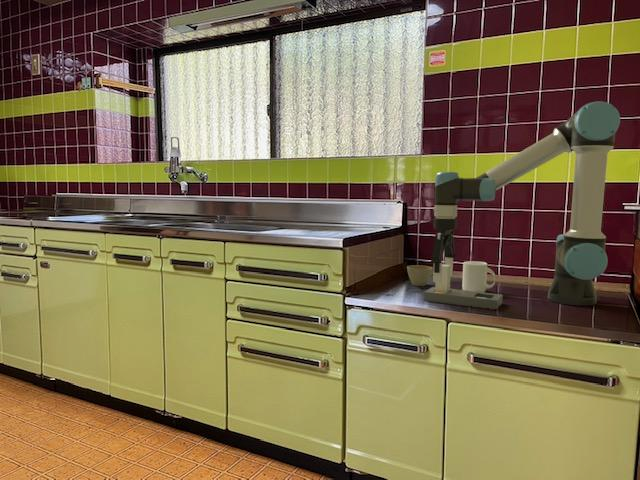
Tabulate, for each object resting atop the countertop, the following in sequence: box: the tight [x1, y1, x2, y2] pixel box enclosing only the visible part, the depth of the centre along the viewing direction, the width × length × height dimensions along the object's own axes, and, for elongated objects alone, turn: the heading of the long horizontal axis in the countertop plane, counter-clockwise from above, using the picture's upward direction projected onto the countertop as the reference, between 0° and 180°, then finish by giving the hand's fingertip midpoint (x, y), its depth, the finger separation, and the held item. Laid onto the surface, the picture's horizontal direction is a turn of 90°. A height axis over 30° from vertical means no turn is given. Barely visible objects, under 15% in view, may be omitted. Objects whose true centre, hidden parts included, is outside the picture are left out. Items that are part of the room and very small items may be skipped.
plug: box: [434, 263, 452, 293], centre depth 169 cm, size 5×4×12 cm
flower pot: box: [406, 265, 433, 287], centre depth 194 cm, size 10×10×7 cm
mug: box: [461, 260, 497, 293], centre depth 182 cm, size 9×12×11 cm
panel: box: [423, 286, 504, 310], centre depth 166 cm, size 24×10×3 cm, turn 60°
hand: (443, 279), depth 169 cm, fingers open, 13 cm apart
